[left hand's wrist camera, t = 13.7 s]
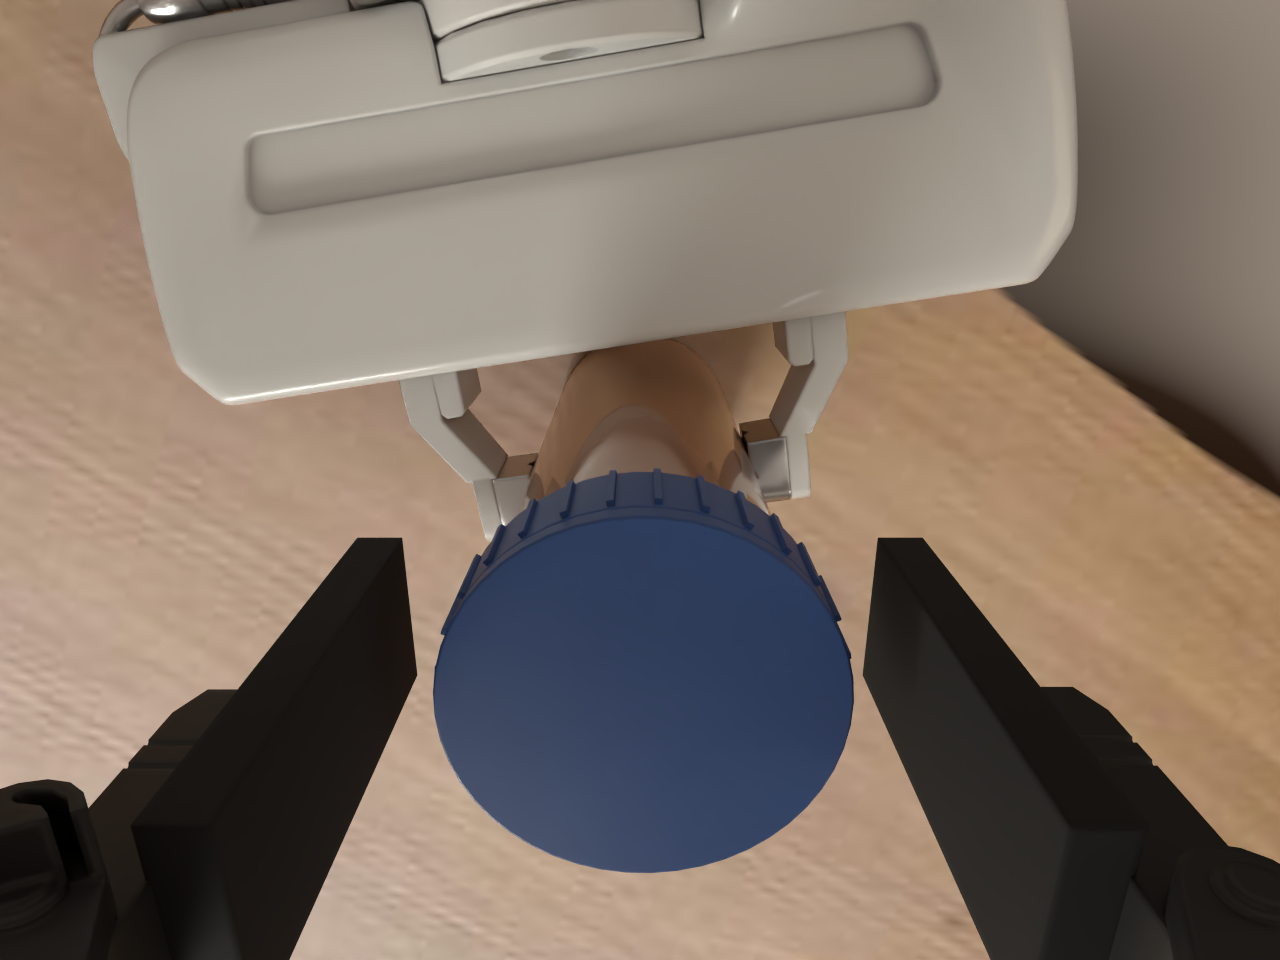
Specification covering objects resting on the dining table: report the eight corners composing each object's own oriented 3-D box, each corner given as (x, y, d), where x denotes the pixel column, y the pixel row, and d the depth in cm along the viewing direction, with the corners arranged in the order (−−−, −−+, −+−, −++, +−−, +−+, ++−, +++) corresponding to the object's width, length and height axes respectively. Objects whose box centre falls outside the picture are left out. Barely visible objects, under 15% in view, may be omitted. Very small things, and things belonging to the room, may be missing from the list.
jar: (726, 492, 28) (820, 831, 13) (565, 497, 28) (481, 842, 13) (725, 330, 26) (833, 517, 11) (553, 337, 26) (438, 531, 11)
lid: (825, 790, 14) (850, 871, 13) (476, 801, 15) (454, 884, 13) (839, 458, 12) (871, 502, 11) (432, 474, 12) (397, 520, 11)
